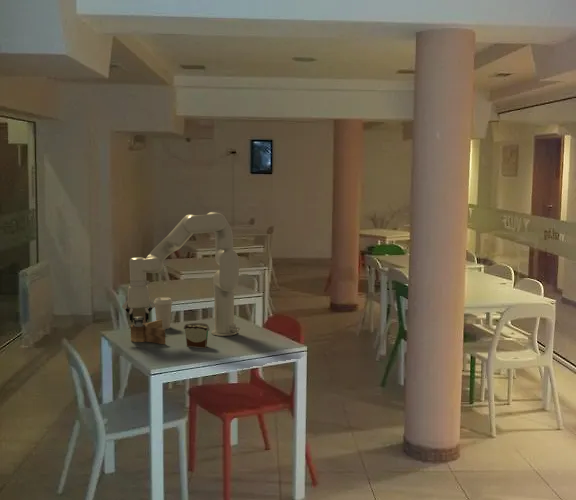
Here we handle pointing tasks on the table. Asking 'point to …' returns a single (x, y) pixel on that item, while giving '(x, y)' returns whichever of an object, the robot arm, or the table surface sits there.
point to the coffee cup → (163, 311)
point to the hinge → (148, 332)
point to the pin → (138, 321)
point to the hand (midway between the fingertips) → (139, 321)
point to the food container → (196, 334)
